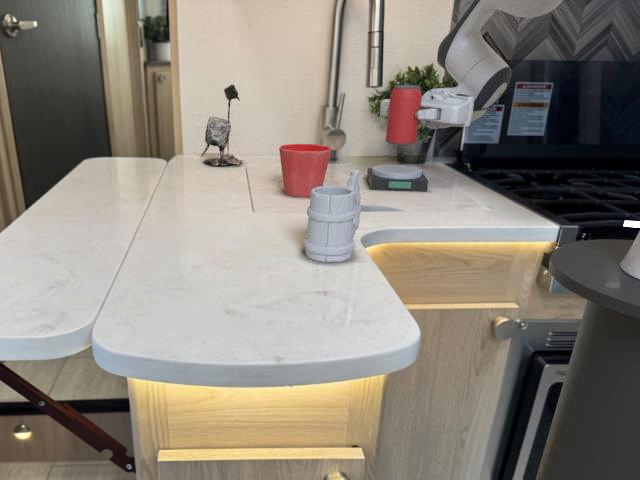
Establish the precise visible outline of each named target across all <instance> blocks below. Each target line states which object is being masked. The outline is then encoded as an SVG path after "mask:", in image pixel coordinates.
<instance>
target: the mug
mask: <svg viewBox="0 0 640 480" xmlns="http://www.w3.org/2000/svg"><path fill="white" fill-rule="evenodd" d="M359 176H360V169H351V171H350V177H348V179H347V184H346V186H337V185H323V186H320V187H316V188H313V189H312V190H311V197H310V198H309V206H308V207H307V209H306V215H307V217H308V218H307V229H306V237H305V238H303V247H304V249H305V250H304V253H305V256H307V258H309V259H311V260H313V261H318V262H323V263H325V262H326V263H330V262H331V263H333V262H334V263H340V262H346V261H347V260H349V259H351V258H352V255H353V251H354V250H355V248H356V242H355V239H353V238H355V235H356V232H357V230H358V229H359V226H360V221H361V218H360V215H361V213H362V210H363V209H362V207H363V206H362V204H361V199H362V197H361V190H360V184H359Z"/></svg>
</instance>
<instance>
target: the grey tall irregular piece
mask: <svg viewBox="0 0 640 480" xmlns="http://www.w3.org/2000/svg"><path fill="white" fill-rule="evenodd" d="M223 92H224V95H225V99H226V100H227V101H228V103H227V105H228V106H227V107H228V110H227V119H225V118H221V117H218V116H211V115H209V118H208V121H207V124H206V127H205V129H206V130H205V135H204V141H205V144H206V147H205V148H204V150H203V151H202V152H201V154H200V157H203V156H205V154H206V153H207V151H208V149H209V148H210V146H212V147H217V148H218V150H219V157H220V158H219V159H213V160H212V161H211V164H210V166H227V165H232V164H234V165H237V166H239V165H241V164H242V162H243V160H242V159H238V158H237V157H236V156H235V155H234V154H233V153H229V152H227V153H226V154H225V149H227V150H229V149H230V148H229V145H230V144H229V143H230V142H229V141H230V140H229V137H230V134H231V131H232V129H231V128H232V125H231V122H230V110H231V102H232V100H236V99H237V101H239V102H240V101H241V99H240V97H239V92H238V90H237V88H236V85H234V84H230V85H228V86H226V87H225V88H224V89H223Z"/></svg>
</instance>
